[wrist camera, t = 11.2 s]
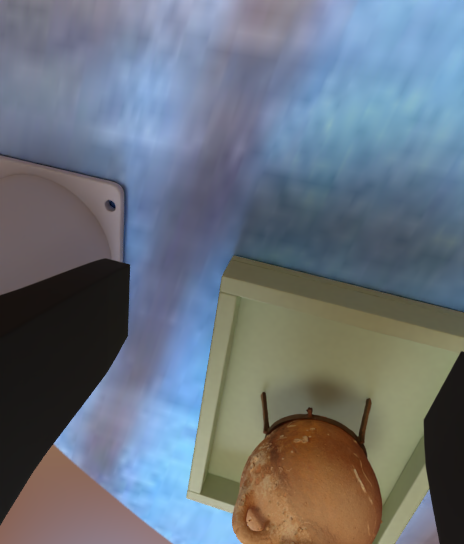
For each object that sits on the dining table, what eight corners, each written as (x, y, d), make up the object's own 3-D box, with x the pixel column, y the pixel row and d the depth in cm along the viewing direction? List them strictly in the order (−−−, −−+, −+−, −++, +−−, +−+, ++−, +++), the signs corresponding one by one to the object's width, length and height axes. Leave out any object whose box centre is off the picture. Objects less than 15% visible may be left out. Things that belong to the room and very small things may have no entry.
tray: (380, 528, 26) (383, 563, 24) (196, 469, 27) (185, 498, 26) (501, 321, 18) (517, 351, 16) (233, 254, 19) (221, 275, 18)
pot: (382, 452, 23) (369, 365, 20) (396, 639, 16) (379, 555, 13) (274, 449, 25) (246, 369, 22) (248, 615, 18) (203, 537, 15)
